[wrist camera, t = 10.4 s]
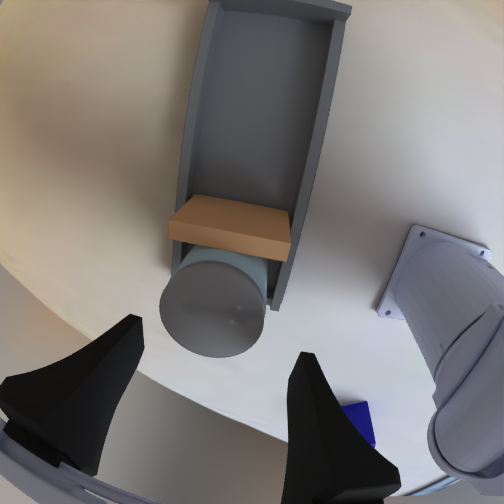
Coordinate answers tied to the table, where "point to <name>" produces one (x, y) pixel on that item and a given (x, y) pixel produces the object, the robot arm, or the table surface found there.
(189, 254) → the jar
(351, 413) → the cable clip
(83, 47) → the table surface
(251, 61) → the tray
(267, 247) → the bar
